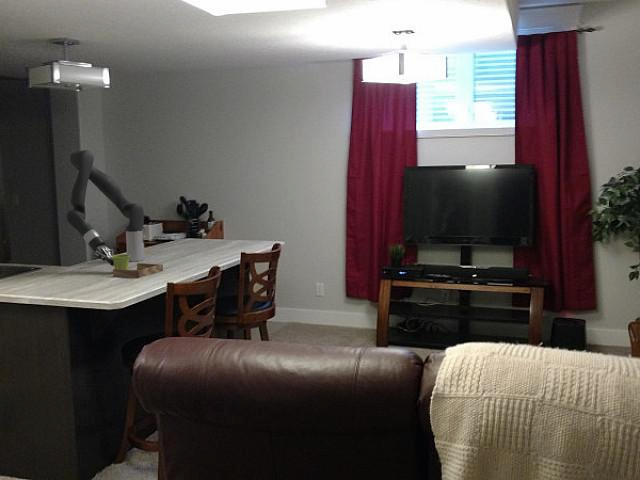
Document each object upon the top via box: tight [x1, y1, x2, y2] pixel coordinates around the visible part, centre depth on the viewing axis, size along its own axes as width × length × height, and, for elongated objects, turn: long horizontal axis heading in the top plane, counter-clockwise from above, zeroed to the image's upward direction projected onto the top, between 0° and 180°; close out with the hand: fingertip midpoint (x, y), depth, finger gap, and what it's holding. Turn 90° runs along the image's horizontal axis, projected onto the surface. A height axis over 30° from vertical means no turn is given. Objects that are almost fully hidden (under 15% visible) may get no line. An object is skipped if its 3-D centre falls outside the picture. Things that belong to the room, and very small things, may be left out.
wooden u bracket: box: [112, 262, 164, 279], centre depth 313 cm, size 20×15×4 cm
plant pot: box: [111, 254, 130, 270], centre depth 317 cm, size 9×9×9 cm
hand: (114, 264), depth 318 cm, fingers closed
